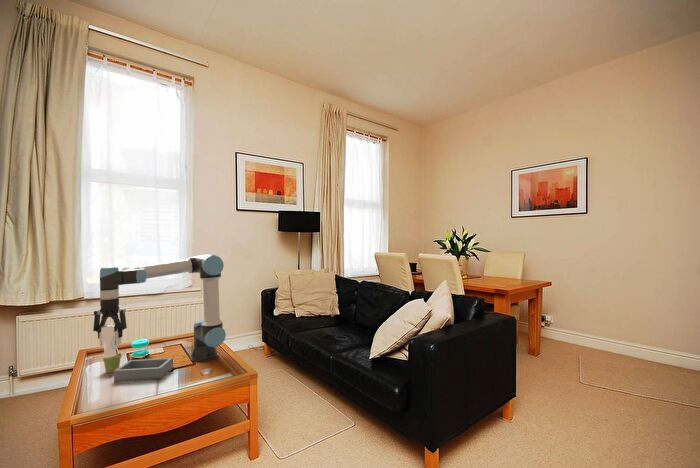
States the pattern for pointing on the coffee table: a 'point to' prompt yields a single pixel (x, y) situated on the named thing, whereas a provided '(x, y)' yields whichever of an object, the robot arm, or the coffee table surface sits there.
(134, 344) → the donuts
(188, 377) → the coffee table surface
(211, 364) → the coffee table surface
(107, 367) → the plant pot
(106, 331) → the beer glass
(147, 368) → the open box
